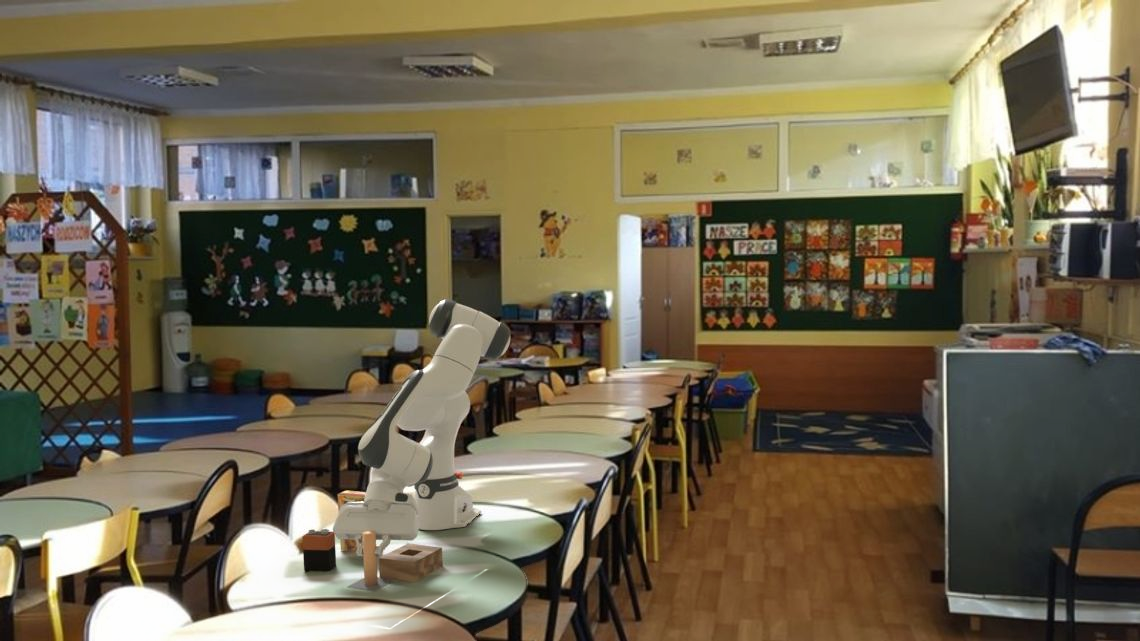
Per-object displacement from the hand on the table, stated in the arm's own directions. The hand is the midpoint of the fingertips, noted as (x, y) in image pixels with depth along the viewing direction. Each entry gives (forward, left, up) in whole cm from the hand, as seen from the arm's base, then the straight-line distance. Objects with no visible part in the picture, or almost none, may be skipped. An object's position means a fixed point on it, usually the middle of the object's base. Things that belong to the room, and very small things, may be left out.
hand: (368, 554), depth 214 cm
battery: (-5, -19, -8) cm, 21 cm away
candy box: (-21, -20, -8) cm, 30 cm away
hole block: (-11, +4, -7) cm, 14 cm away
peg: (-1, 0, -7) cm, 7 cm away
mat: (-1, 0, -7) cm, 7 cm away
